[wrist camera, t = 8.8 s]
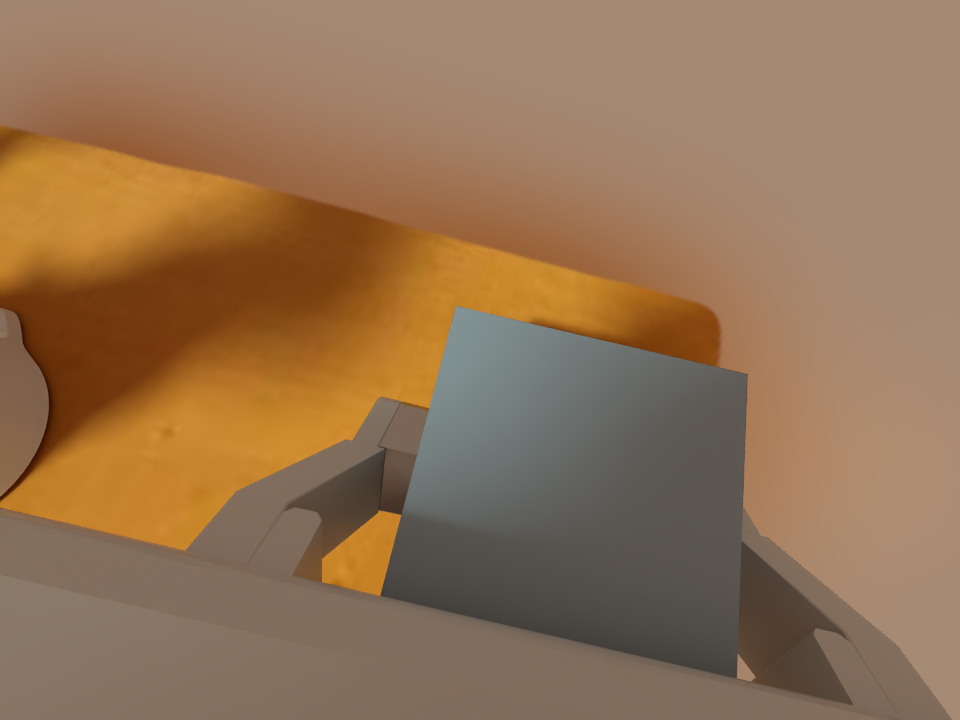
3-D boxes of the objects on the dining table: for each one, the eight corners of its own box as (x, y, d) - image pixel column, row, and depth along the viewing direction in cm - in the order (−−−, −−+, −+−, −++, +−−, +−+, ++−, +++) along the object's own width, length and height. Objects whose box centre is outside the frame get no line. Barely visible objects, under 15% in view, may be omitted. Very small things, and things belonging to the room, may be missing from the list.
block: (419, 537, 13) (367, 646, 5) (455, 392, 14) (456, 306, 6) (567, 572, 13) (735, 732, 5) (588, 423, 14) (747, 373, 6)
